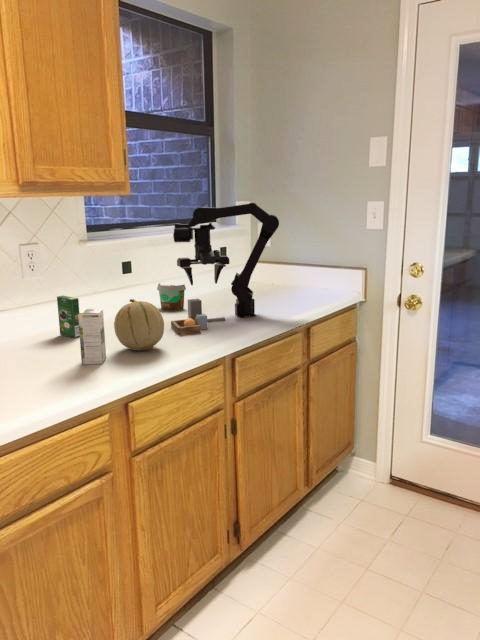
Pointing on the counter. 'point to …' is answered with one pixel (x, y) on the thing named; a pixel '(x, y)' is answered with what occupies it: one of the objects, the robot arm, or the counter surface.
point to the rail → (215, 319)
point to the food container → (171, 297)
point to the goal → (184, 328)
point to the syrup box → (92, 336)
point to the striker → (197, 312)
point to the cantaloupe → (139, 325)
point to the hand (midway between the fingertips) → (204, 284)
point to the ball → (189, 322)
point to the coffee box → (68, 316)
